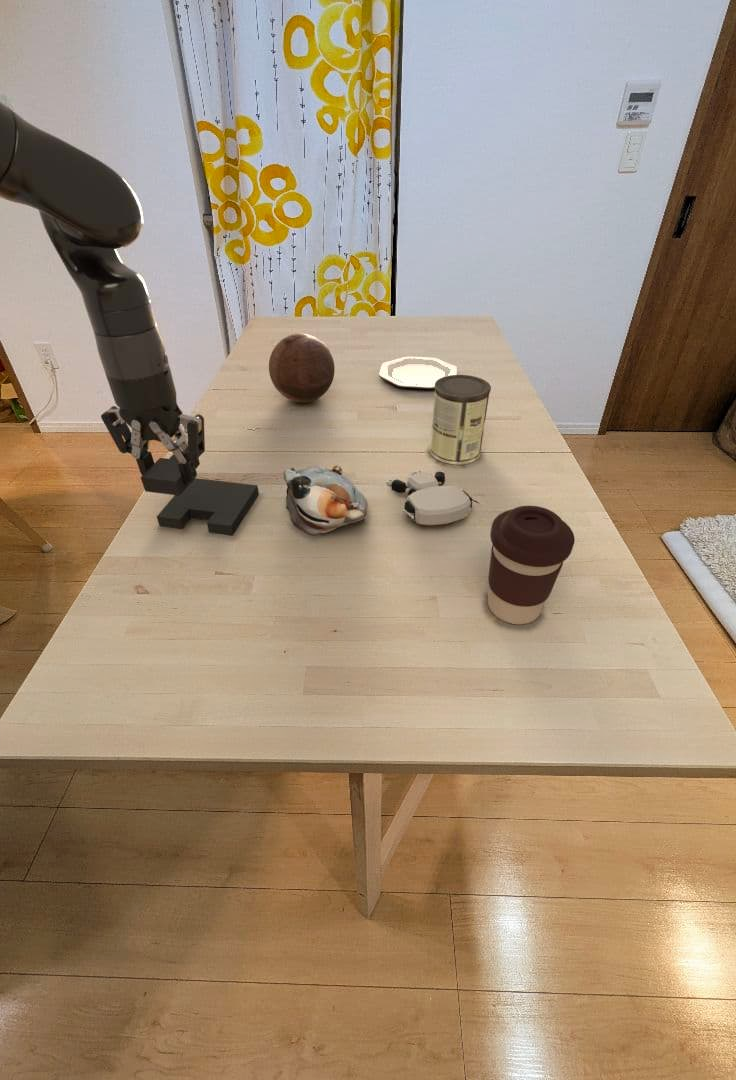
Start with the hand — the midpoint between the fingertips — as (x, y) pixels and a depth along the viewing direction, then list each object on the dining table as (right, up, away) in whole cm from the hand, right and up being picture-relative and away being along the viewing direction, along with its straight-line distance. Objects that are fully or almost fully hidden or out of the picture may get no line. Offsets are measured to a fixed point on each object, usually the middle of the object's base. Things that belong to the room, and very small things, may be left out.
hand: (170, 479), depth 75 cm
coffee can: (+46, +9, +30) cm, 56 cm away
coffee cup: (+49, -18, -3) cm, 52 cm away
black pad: (0, 0, +2) cm, 2 cm away
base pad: (+1, -3, +15) cm, 15 cm away
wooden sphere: (+13, +25, +49) cm, 57 cm away
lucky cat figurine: (+22, -6, +13) cm, 26 cm away
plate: (+42, +34, +60) cm, 80 cm away
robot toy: (+39, -3, +15) cm, 42 cm away
